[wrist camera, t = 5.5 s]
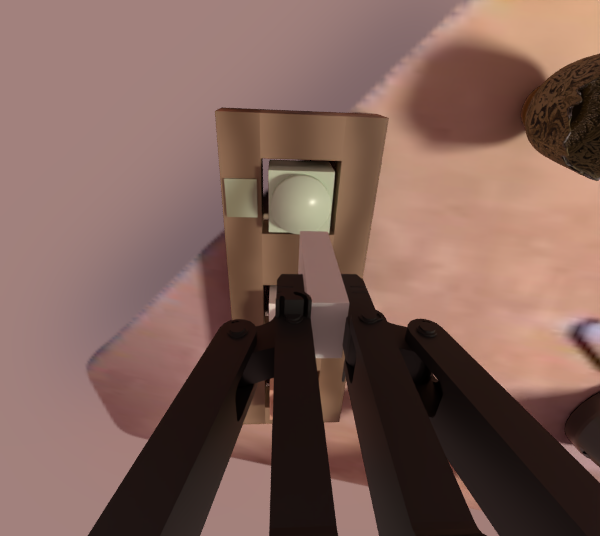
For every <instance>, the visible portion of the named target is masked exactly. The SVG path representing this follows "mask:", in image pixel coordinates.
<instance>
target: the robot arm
mask: <svg viewBox="0 0 600 536" xmlns="http://www.w3.org/2000/svg"><path fill="white" fill-rule="evenodd" d="M343 350H344V355H345V360H344V367H343V373H342V382H345V377H346V381H347V386H348V391H349V395H350V400H351V405H352V410H353V414H354V419H355V424H356V429H357V433H358V438H359V443H360V448H361V452H362V457H363V462H364V466H365V471H366V476H367V481H368V485H369V490H370V495H371V500H372V504H373V509H374V514H375V518H376V523H377V528H378V532H379V536H486V535H485V534H482V532H481V531H480V530H479V529H478V527H477V526H476V524H475V522H474V520H473V517H472V515H471V513H470V511H469V508H468V506H467V504H466V501H465V499H464V497H463V494H462V492H461V490H460V488H459V485H458V483H457V481H456V478H455V476H454V474H453V471H452V469H451V467H450V465H449V462H450V464H451V465H452V466H453V468H454V469H455V471H456V472H457V474H458V475H459V477H460V478H461V480H462V481H463V483H464V484H465V486H466V487H467V489H468V490H469V492H470V493H471V495H472V496H473V498H474V499H475V500H476V502H477V503H478V505H479V506H480V508H481V509H482V511H483V512H484V514H485V515H486V516H487V518H488V520H489V521H490V523H491V524H492V526H493V527H494V529H495V530H496V531H497V533H498V534H499V536H600V483H599V482H598V481H597V480H596V479H595V478H594V477H593V476H592V475H591V474H590V473H589V472H588V471H587V470H586V469H585V468H584V467H583V466H582V465H581V464H580V463H579V462H578V461H577V460H576V459H575V458H574V457H573V456H572V455H571V454H570V453H569V452H568V451H567V450H566V449H565V448H564V447H563V446H562V445H561V444H560V443H559V442H558V441H557V440H556V439H555V438H554V437H553V436H552V435H551V434H550V433H549V432H548V431H547V430H546V429H544V428H543V427H542V426H541V425H540V424H539V423H538V422H537V421H536V420H535V419H534V418H533V417H532V416H531V415H530V414H529V413H528V412H527V411H526V410H525V409H524V408H523V407H522V406H521V405H520V404H519V403H518V402H517V401H516V400H515V399H514V398H513V397H512V396H511V395H510V394H509V393H508V392H507V391H506V390H505V389H504V388H503V387H502V386H501V385H500V384H499V383H498V382H497V381H496V380H495V379H494V378H493V377H492V376H491V375H490V374H489V373H488V372H487V371H486V370H485V369H484V368H483V367H482V366H481V365H480V364H479V363H478V362H477V361H475V360H474V359H473V358H472V357H471V356H470V355H469V354H468V353H467V352H466V351H465V350H464V349H463V348H462V347H461V346H460V345H459V344H458V343H457V342H456V341H455V340H454V339H453V338H452V337H451V336H450V335H449V334H448V333H447V332H446V331H445V330H444V329H443V328H442V327H441V326H439V325H438V324H437V323H435V322H432V321H430V320H426V319H415V320H412V321H410V323H409V324H408V327H404V326H399V325H395V324H391V323H389V322H387V320H386V318H385V317H384V315H383V314H382V313H380V312H379V311H377V310H375V308H374V305H373V303H372V300H371V298H370V295H369V293H368V291H367V288H366V286H365V283H364V281H363V279H362V278H360V277H359V276H358V275H357V274H341V273H340V270H339V267H338V264H337V260H336V257H335V254H334V250H333V247H332V244H331V241H330V237H329V234H328V232H325V231H300V243H299V265H298V274H281V275H280V276H279V278H278V279H277V293H276V303H275V317H274V318H273V319H272V320H271V321H270V322H268V323H266V324H263V325H260V326H255V324H253V323H252V322H251V321H248V320H245V319H235V320H230V321H228V322H226V323H224V324H223V325H222V326H221V327H220V328H219V330H218V332H217V333H216V335H215V336H214V338H213V339H212V341H211V343H210V344H209V346H208V347H207V349H206V350H205V352H204V354H203V355H202V357H201V358H200V360H199V361H198V363H197V365H196V366H195V368H194V369H193V371H192V372H191V374H190V376H189V377H188V379H187V380H186V382H185V383H184V385H183V387H182V388H181V390H180V391H179V393H178V394H177V396H176V398H175V399H174V401H173V402H172V404H171V405H170V407H169V409H168V410H167V412H166V413H165V415H164V417H163V418H162V420H161V421H160V423H159V424H158V426H157V428H156V429H155V431H154V432H153V434H152V435H151V437H150V439H149V440H148V442H147V443H146V445H145V447H144V448H143V450H142V451H141V453H140V454H139V456H138V457H137V459H136V461H135V462H134V464H133V465H132V467H131V469H130V470H129V472H128V473H127V475H126V476H125V478H124V480H123V481H122V483H121V484H120V486H119V487H118V489H117V491H116V492H115V494H114V495H113V497H112V498H111V500H110V502H109V503H108V505H107V506H106V508H105V510H104V511H103V513H102V514H101V516H100V517H99V519H98V520H97V522H96V524H95V525H94V527H93V529H92V530H91V531H90V533H89V535H88V536H200V534H201V532H202V529H203V526H204V524H205V521H206V519H207V516H208V514H209V511H210V508H211V506H212V503H213V501H214V498H215V495H216V492H217V490H218V488H219V485H220V482H221V480H222V477H223V474H224V472H225V469H226V467H227V464H228V462H229V459H230V456H231V454H232V451H233V449H234V446H235V443H236V441H237V438H238V436H239V433H240V430H241V428H242V425H243V422H244V420H245V417H246V415H247V412H248V409H249V407H250V404H251V402H252V399H253V396H254V394H255V391H256V389H257V386H258V382H261V381H264V380H268V379H271V378H274V387H273V423H272V459H271V495H270V531H269V536H338V533H337V526H336V518H335V510H334V502H333V495H332V486H331V478H330V470H329V462H328V454H327V445H326V437H325V429H324V421H323V413H322V405H321V397H320V389H319V381H318V373H317V365H316V358H342V352H343ZM433 375H434V376H435V377H436V378H437V379H438V380H437V379H436V378H435V377H434V376H433ZM565 434H566V436H567V437H568V439H569V440H570V441H571V442H572V444H573V445H574V446H575V447H576V448H577V450H578V451H579V452H580V453H581V454H583V455H584V456H586V457H587V458H589V459H591V460H592V461H593V462H594V463H595V464H597V465H598V466H599V467H600V393H598V394H596V395H594V396H593V397H591V398H589V399H588V400H587V401H585V402H584V403H583V404H581V405H580V406H579V407H578V408H577V409H576V410H575V411H574V412H573V413H572V414H571V416H570V417H569V419H568V420H567V423H566V425H565ZM447 459H448V460H447ZM448 461H449V462H448Z"/></svg>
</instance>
